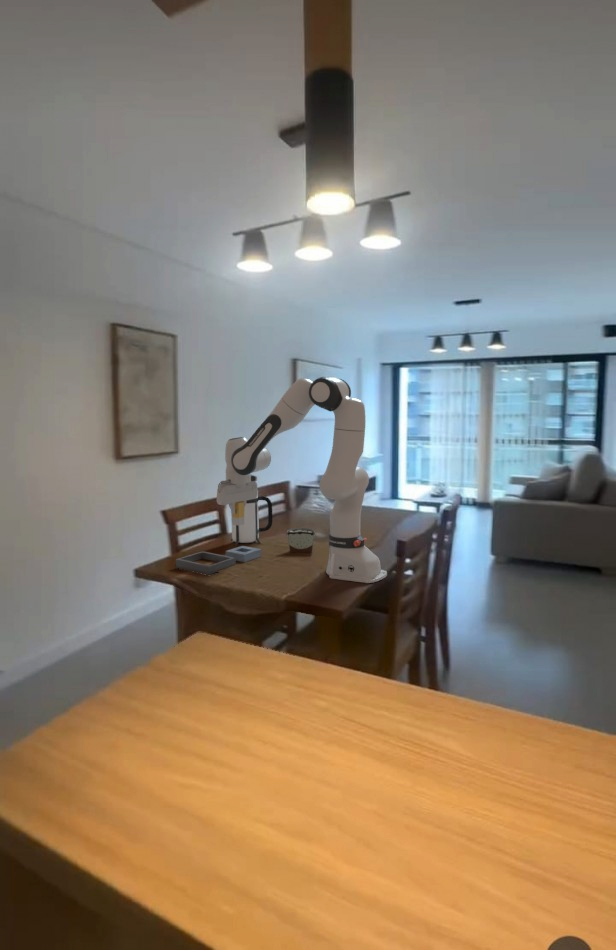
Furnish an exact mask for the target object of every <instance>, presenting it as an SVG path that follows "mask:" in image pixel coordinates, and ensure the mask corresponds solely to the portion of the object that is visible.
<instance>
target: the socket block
mask: <svg viewBox="0 0 616 950" xmlns="http://www.w3.org/2000/svg"><path fill="white" fill-rule="evenodd" d="M225 556H229V557H233V558H236V561H237V562H241V563H246V562H250V561H252V560H255V559H258V558H261V557H262V549H261V548H257V547H252V546H245V545H241V546H238V547H237V546H236V547H234V548H231V549H228V550H225Z"/></svg>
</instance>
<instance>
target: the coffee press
mask: <svg viewBox="0 0 616 950" xmlns="http://www.w3.org/2000/svg"><path fill="white" fill-rule="evenodd" d="M259 491H260V489H259V488H258V492H259ZM259 501H264V502H266V503H267V515H268V516H267V518H268V519H267V520H268V522H267V524H266V526H264V527H259V526H260V525H259ZM230 515H231V519H232V514H230ZM272 526H273V503H272V500H270V498H269V497H267V496H263V495H261V496H259V494H258V495H257V497H256V499H251V500H246V506H245V508H244V525H240V526H238V525H232V524H231V539H230V541H231V543H235V544H234V546H238V545H241V544H250V543H255V544H256V545H261V542H260V540H259V537H260V536H259V535H260V532H267V531H269V530H270V529H271V527H272Z"/></svg>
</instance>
